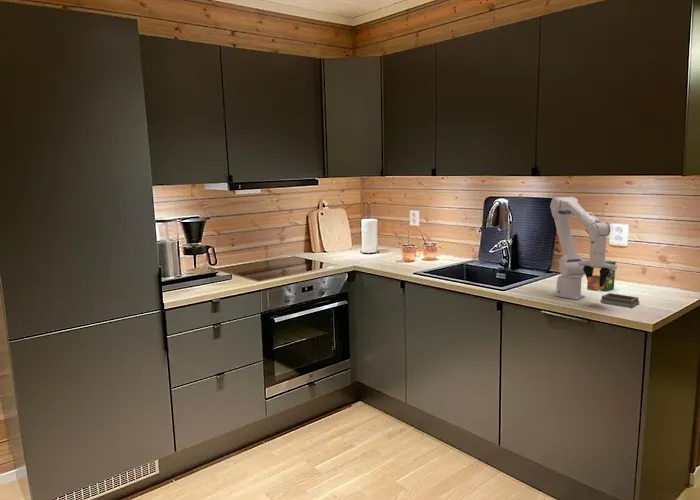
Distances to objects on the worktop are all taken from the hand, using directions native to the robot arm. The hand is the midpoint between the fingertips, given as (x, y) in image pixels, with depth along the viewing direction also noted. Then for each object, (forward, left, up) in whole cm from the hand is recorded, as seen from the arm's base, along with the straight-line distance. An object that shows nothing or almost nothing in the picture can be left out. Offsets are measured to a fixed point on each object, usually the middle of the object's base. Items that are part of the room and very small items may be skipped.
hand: (595, 285), depth 214 cm
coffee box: (-7, +31, -9) cm, 33 cm away
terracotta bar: (0, 0, -1) cm, 1 cm away
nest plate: (+6, +10, -8) cm, 15 cm away
